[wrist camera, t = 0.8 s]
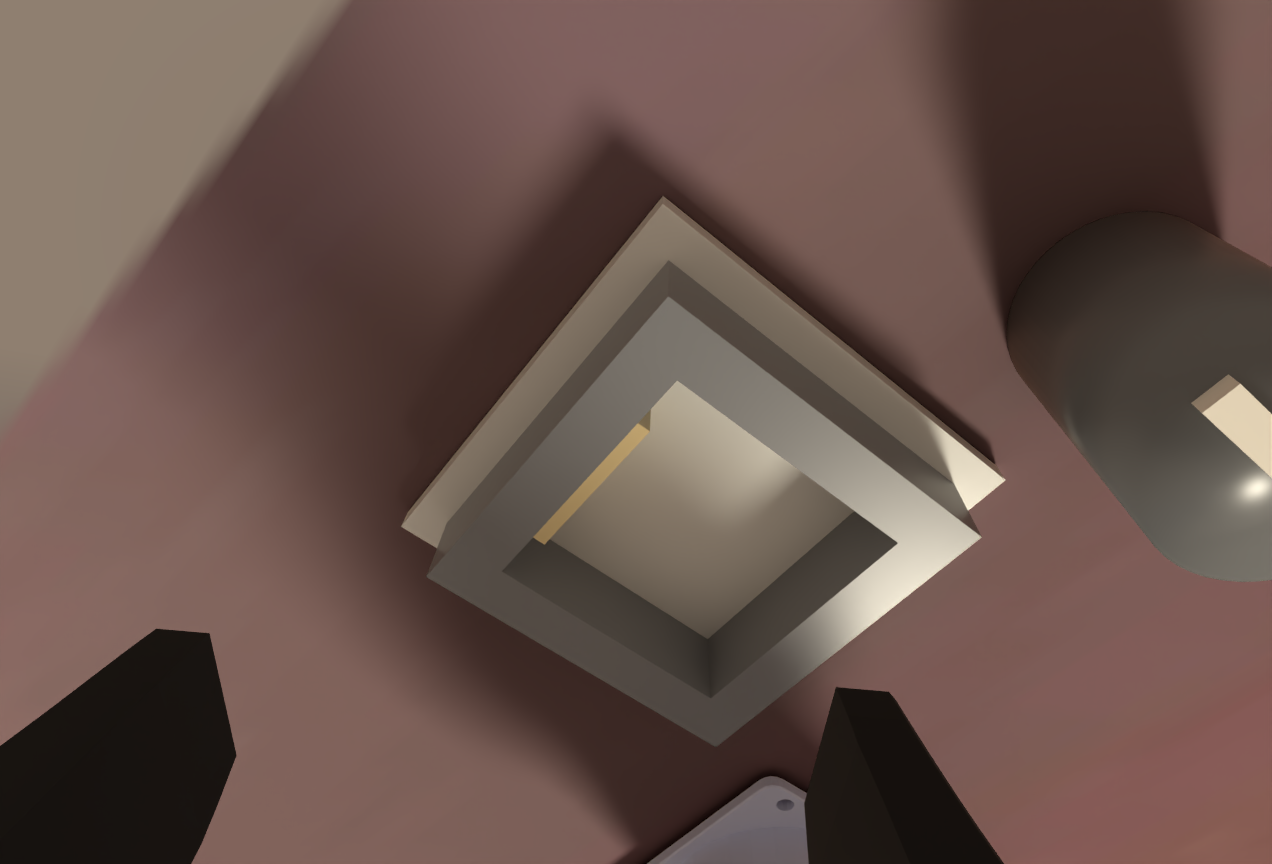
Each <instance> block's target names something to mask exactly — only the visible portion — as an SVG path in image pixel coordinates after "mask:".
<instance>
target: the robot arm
mask: <svg viewBox="0 0 1272 864" xmlns="http://www.w3.org/2000/svg"><path fill="white" fill-rule="evenodd" d="M235 758H236V751H235V747H234V742H233V738H232V733H231V728H230V724H229V719H228V715H227V710H226V706H225V701H224V697H223V692H222V688H221V683H220V679H219V674H218V670H217V665H216V661H215V656H214V652H213V647H212V643H211V638H210V634H209V633H199V632H187V631H176V630H164V629H155V630H154V631H153V632H151V633H150V634H149V635H147V636H146V637H144V638H143V639H142V640H140V641H139V642H138V643H136V644H135V645H134V646H132V647H131V648H129V649H128V650H127V651H125V652H124V653H123V654H122V655H120V656H119V657H118V658H116V659H115V660H114V661H112V662H111V663H110V664H108V665H107V666H106V667H104V668H103V669H102V670H100V671H99V672H98V673H97V674H95V675H94V676H93V677H91V678H90V679H89V680H87V681H86V682H85V683H83V684H82V685H81V686H80V687H78V688H77V689H76V690H74V691H73V692H72V693H70V694H69V695H68V696H66V697H65V698H64V699H62V700H61V701H60V702H59V703H57V704H56V705H55V706H53V707H52V708H51V709H49V710H48V711H47V712H45V713H44V714H43V715H41V716H40V717H39V718H37V719H36V720H35V721H33V722H32V723H31V724H29V725H28V726H27V727H25V728H24V729H23V730H21V731H20V732H18V733H17V734H16V735H14V736H13V737H12V738H10V739H9V740H8V741H6V742H5V743H4V744H2V745H1V746H0V864H191V863H192V861H193V859H194V857H195V855H196V853H197V851H198V849H199V847H200V845H201V844H202V841H203V839H204V836H205V834H206V831H207V829H208V827H209V824H210V822H211V819H212V817H213V815H214V812H215V810H216V807H217V805H218V802H219V800H220V797H221V794H222V792H223V789H224V787H225V784H226V781H227V779H228V776H229V774H230V771H231V768H232V766H233V763H234V760H235ZM647 864H1004V863H1003V862H1002V860H1001V859H1000V857H999V856H998V855H997V853H996V852H995V850H994V849H993V847H992V846H991V845H990V843H989V842H988V840H987V839H986V838H985V836H984V835H983V833H982V832H981V831H980V829H979V828H978V826H977V825H976V823H975V822H974V820H973V819H972V817H971V816H970V814H969V813H968V811H967V810H966V809H965V807H964V806H963V804H962V803H961V801H960V800H959V798H958V797H957V795H956V794H955V792H954V790H953V789H952V787H951V786H950V784H949V783H948V781H947V780H946V778H945V777H944V775H943V774H942V772H941V771H940V769H939V768H938V766H937V765H936V763H935V761H934V760H933V758H932V757H931V755H930V754H929V752H928V751H927V749H926V747H925V746H924V744H923V743H922V741H921V740H920V738H919V736H918V735H917V733H916V732H915V730H914V728H913V727H912V725H911V724H910V722H909V721H908V719H907V717H906V716H905V714H904V713H903V711H902V709H901V708H900V706H899V705H898V703H897V701H896V700H895V699H894V697H893V696H892V695H891V694H890V693H889V692H884V691H873V690H861V689H849V688H838V687H836V689H835V693H834V697H833V700H832V704H831V707H830V711H829V715H828V718H827V722H826V726H825V729H824V733H823V737H822V740H821V744H820V748H819V751H818V755H817V759H816V762H815V766H814V769H813V773H812V777H811V780H810V784H809V788H808V791H807V793H806V792H804V791H802V790H801V789H799V788H797V787H795V786H794V785H792V784H790V783H789V782H787V781H785V780H784V779H781V778H779V777H775V776H769V777H764V778H762V779H760V780H759V781H757V782H756V783H755V784H753V785H752V786H751V787H749V788H748V789H747V790H745V791H744V792H742V793H741V794H740V795H738V796H737V797H736V798H734V799H733V800H732V801H730V802H729V803H728V804H726V805H725V806H724V807H722V808H721V809H720V810H718V811H717V812H716V813H714V814H713V815H712V816H710V817H709V818H708V819H706V820H705V821H703V822H702V823H701V824H699V825H698V826H697V827H695V828H694V829H693V830H691V831H690V832H689V833H687V834H686V835H685V836H683V837H682V838H681V839H679V840H678V841H677V842H675V843H674V844H673V845H671V846H670V847H669V848H667V849H666V850H664V851H663V852H662V853H660V854H659V855H658V856H656V857H655V858H654V859H652V860H651V861H650V862H648V863H647Z"/></svg>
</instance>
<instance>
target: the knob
mask: <svg viewBox="0 0 1272 864" xmlns="http://www.w3.org/2000/svg"><path fill="white" fill-rule="evenodd" d="M1007 345H1008V351H1009V354H1010V358H1011V361H1012V363H1013V365H1014V367H1015V369H1016V371H1017V372H1018V374H1019V375H1020V377H1021V378H1022V379H1023V381H1024V382H1025V383H1026V384H1027V386H1028V387H1029V388H1030V389H1031V391H1032V392H1033V393H1034V395H1035V396H1036V397H1037V398H1038V400H1039V401H1040V402H1041V403H1042V405H1043V406H1044V407H1045V408H1046V410H1047V411H1048V412H1049V413H1050V415H1051V416H1052V417H1053V419H1054V420H1055V421H1056V422H1057V424H1058V425H1059V426H1060V427H1061V429H1062V430H1063V431H1064V432H1065V434H1066V435H1067V436H1068V437H1069V439H1070V440H1071V441H1072V443H1073V444H1074V445H1075V446H1076V448H1077V449H1078V450H1079V451H1080V453H1081V454H1082V455H1083V456H1084V458H1085V459H1086V460H1087V462H1088V463H1089V464H1090V465H1091V467H1092V468H1093V469H1094V470H1095V472H1096V473H1097V474H1098V475H1099V477H1100V478H1101V479H1102V480H1103V482H1104V483H1105V484H1106V486H1107V487H1108V488H1109V489H1110V491H1111V492H1112V493H1113V494H1114V496H1115V497H1116V498H1117V499H1118V501H1119V502H1120V503H1121V504H1122V506H1123V507H1124V508H1125V510H1126V511H1127V512H1128V513H1129V515H1130V516H1131V517H1132V518H1133V520H1134V521H1135V522H1136V523H1137V525H1138V526H1139V527H1140V529H1141V530H1142V531H1143V532H1144V534H1145V535H1146V536H1147V537H1148V539H1149V540H1150V541H1151V542H1152V544H1153V545H1154V546H1155V547H1156V548H1157V549H1158V550H1159V551H1160V552H1161V553H1162V554H1163V555H1164V556H1165V557H1166V558H1167V559H1169V560H1170V561H1172V562H1173V563H1174V564H1176V565H1177V566H1179V567H1181V568H1184V569H1186V570H1188V571H1190V572H1192V573H1195V574H1198V575H1201V576H1204V577H1208V578H1213V579H1218V580H1225V581H1237V582H1251V581H1266V580H1272V267H1270V266H1269V265H1267V264H1265V263H1263V262H1261V261H1259V260H1258V259H1256V258H1254V257H1252V256H1250V255H1249V254H1247V253H1245V252H1243V251H1241V250H1240V249H1238V248H1236V247H1234V246H1232V245H1231V244H1229V243H1227V242H1225V241H1223V240H1221V239H1220V238H1218V237H1216V236H1214V235H1212V234H1211V233H1209V232H1207V231H1205V230H1203V229H1202V228H1200V227H1198V226H1196V225H1194V224H1193V223H1191V222H1189V221H1187V220H1185V219H1182V218H1179V217H1177V216H1174V215H1170V214H1165V213H1161V212H1149V211H1142V212H1128V213H1122V214H1116V215H1113V216H1109V217H1106V218H1102V219H1100V220H1097V221H1095V222H1092V223H1090V224H1087V225H1085V226H1083V227H1081V228H1080V229H1078V230H1076V231H1074V232H1072V233H1071V234H1069V235H1068V236H1066V237H1065V238H1063V239H1062V240H1060V241H1059V242H1058V243H1056V244H1055V245H1054V246H1053V247H1052V248H1050V249H1049V250H1048V251H1047V252H1046V253H1045V254H1044V255H1043V256H1042V257H1041V258H1040V259H1039V260H1038V261H1037V262H1036V263H1035V265H1034V266H1033V267H1032V268H1031V270H1030V271H1029V272H1028V274H1027V275H1026V277H1025V278H1024V280H1023V281H1022V283H1021V285H1020V286H1019V288H1018V290H1017V293H1016V295H1015V297H1014V299H1013V302H1012V305H1011V308H1010V311H1009V316H1008V322H1007Z"/></svg>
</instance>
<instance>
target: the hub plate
mask: <svg viewBox="0 0 1272 864" xmlns="http://www.w3.org/2000/svg"><path fill="white" fill-rule="evenodd" d="M1004 481H1005V479H1004V477H1003V475H1002V474H1001V472H1000V470H999V469H998V467H997V466H996V465H995V464H994V463H992V462H991V461H990V460H989V459H988V458H986V457H985V456H984V455H983V454H981V453H980V452H979V451H978V450H976V449H975V448H974V447H973V446H971V445H970V444H969V443H968V442H967V441H965V440H964V439H963V438H962V437H960V436H959V435H958V434H957V433H955V432H954V431H953V430H952V429H950V428H949V427H948V426H947V425H946V424H944V423H943V422H942V421H941V420H939V419H938V418H937V417H936V416H934V415H933V414H932V413H931V412H929V411H928V410H927V409H926V408H925V407H923V406H922V405H921V404H920V403H918V402H917V401H916V400H915V399H913V398H912V397H911V396H910V395H908V394H907V393H906V392H905V391H904V390H902V389H901V388H900V387H899V386H897V385H896V384H895V383H894V382H892V381H891V380H890V379H889V378H887V377H886V376H885V375H884V374H883V373H881V372H880V371H879V370H878V369H876V368H875V367H874V366H873V365H871V364H870V363H869V362H868V361H866V360H865V359H864V358H863V357H862V356H860V355H859V354H858V353H857V352H855V351H854V350H853V349H852V348H850V347H849V346H848V345H847V344H845V343H844V342H843V341H842V340H841V339H839V338H838V337H837V336H836V335H834V334H833V333H832V332H831V331H829V330H828V329H827V328H826V327H824V326H823V325H822V324H821V323H820V322H818V321H817V320H816V319H815V318H813V317H812V316H811V315H810V314H808V313H807V312H806V311H805V310H804V309H802V308H801V307H800V306H799V305H797V304H796V303H795V302H794V301H792V300H791V299H790V298H789V297H787V296H786V295H785V294H784V293H783V292H781V291H780V290H779V289H778V288H776V287H775V286H774V285H773V284H771V283H770V282H769V281H768V280H766V279H765V278H764V277H763V276H762V275H760V274H759V273H758V272H757V271H755V270H754V269H753V268H752V267H750V266H749V265H748V264H747V263H745V262H744V261H743V260H742V259H741V258H739V257H738V256H737V255H736V254H734V253H733V252H732V251H731V250H729V249H728V248H727V247H726V246H724V245H723V244H722V243H721V242H720V241H718V240H717V239H716V238H715V237H713V236H712V235H711V234H710V233H708V232H707V231H706V230H705V229H703V228H702V227H701V226H700V225H699V224H697V223H696V222H695V221H694V220H692V219H691V218H690V217H689V216H687V215H686V214H685V213H684V212H682V211H681V210H680V209H679V208H678V207H676V206H675V205H674V204H673V203H671V202H670V201H669V200H668V199H666V198H665V197H664V196H662V198H661V199H660V200H659V201H658V203H657V204H656V205H655V206H654V208H653V209H652V210H651V211H650V213H649V214H648V215H647V216H646V218H645V219H644V220H643V221H642V222H641V224H640V225H639V226H638V227H637V229H636V230H635V231H634V232H633V234H632V235H631V236H630V237H629V239H628V240H627V241H626V242H625V244H624V245H623V246H622V247H621V248H620V250H619V251H618V252H617V253H616V255H615V256H614V257H613V258H612V260H611V261H610V262H609V263H608V265H607V266H606V267H605V268H604V270H603V271H602V272H601V273H600V275H599V276H598V277H597V278H596V279H595V281H594V282H593V283H592V284H591V286H590V287H589V288H588V289H587V291H586V292H585V293H584V294H583V296H582V297H581V298H580V299H579V301H578V302H577V303H576V304H575V306H574V307H573V308H572V309H571V310H570V312H569V313H568V314H567V315H566V317H565V318H564V319H563V320H562V322H561V323H560V324H559V325H558V327H557V328H556V329H555V330H554V332H553V333H552V334H551V335H550V336H549V338H548V339H547V340H546V341H545V343H544V344H543V345H542V346H541V348H540V349H539V350H538V351H537V353H536V354H535V355H534V356H533V358H532V359H531V360H530V361H529V363H528V364H527V365H526V366H525V367H524V369H523V370H522V371H521V372H520V374H519V375H518V376H517V377H516V379H515V380H514V381H513V382H512V384H511V385H510V386H509V387H508V389H507V390H506V391H505V392H504V393H503V395H502V396H501V397H500V398H499V400H498V401H497V402H496V403H495V405H494V406H493V407H492V408H491V410H490V411H489V412H488V413H487V415H486V416H485V417H484V418H483V420H482V421H481V422H480V423H479V424H478V426H477V427H476V428H475V429H474V431H473V432H472V433H471V434H470V436H469V437H468V438H467V439H466V441H465V442H464V443H463V444H462V446H461V447H460V448H459V449H458V451H457V452H456V453H455V454H454V455H453V457H452V458H451V459H450V460H449V462H448V463H447V464H446V465H445V467H444V468H443V469H442V470H441V472H440V473H439V474H438V475H437V477H436V478H435V479H434V480H433V481H432V483H431V484H430V485H429V486H428V488H427V489H426V490H425V491H424V493H423V494H422V495H421V496H420V498H419V499H418V500H417V501H416V503H415V504H414V505H413V506H412V508H411V509H410V510H409V511H408V513H407V515H406V517H405V519H404V521H403V524H402V526H401V527H402V528H404V529H406V530H407V531H409V532H411V533H412V534H414V535H416V536H417V537H419V538H421V539H422V540H424V541H426V542H427V543H429V544H431V545H432V546H434V547H436V548H437V550H436V552H435V555H434V558H433V560H432V563H431V565H430V568H429V571H428V573H427V576H426V577H427V578H429V579H431V580H432V581H434V582H436V583H437V584H439V585H441V586H442V587H444V588H446V589H448V590H449V591H451V592H453V593H454V594H456V595H458V596H459V597H461V598H463V599H465V600H466V601H468V602H470V603H471V604H473V605H475V606H476V607H478V608H480V609H482V610H483V611H485V612H487V613H488V614H490V615H492V616H493V617H495V618H497V619H499V620H500V621H502V622H504V623H505V624H507V625H509V626H510V627H512V628H514V629H516V630H517V631H519V632H521V633H522V634H524V635H526V636H527V637H529V638H531V639H533V640H534V641H536V642H538V643H539V644H541V645H543V646H544V647H546V648H548V649H550V650H551V651H553V652H555V653H556V654H558V655H560V656H561V657H563V658H565V659H567V660H568V661H570V662H572V663H573V664H575V665H577V666H578V667H580V668H582V669H584V670H585V671H587V672H589V673H590V674H592V675H594V676H595V677H597V678H599V679H601V680H602V681H604V682H606V683H607V684H609V685H611V686H612V687H614V688H616V689H618V690H619V691H621V692H623V693H624V694H626V695H628V696H629V697H631V698H633V699H635V700H636V701H638V702H640V703H641V704H643V705H645V706H646V707H648V708H650V709H652V710H653V711H655V712H657V713H658V714H660V715H662V716H663V717H665V718H667V719H669V720H670V721H672V722H674V723H675V724H677V725H679V726H680V727H682V728H684V729H686V730H687V731H689V732H691V733H692V734H694V735H696V736H697V737H699V738H701V739H703V740H704V741H706V742H708V743H709V744H711V745H713V746H714V747H717V746H718V745H719V744H721V743H722V742H723V741H725V740H726V739H727V738H728V737H730V736H731V735H732V734H733V733H735V732H736V731H737V730H738V729H740V728H741V727H742V726H743V725H745V724H746V723H747V722H749V721H750V720H751V719H752V718H754V717H755V716H756V715H757V714H759V713H760V712H761V711H762V710H764V709H765V708H766V707H768V706H769V705H770V704H771V703H773V702H774V701H775V700H776V699H778V698H779V697H780V696H781V695H783V694H784V693H785V692H786V691H788V690H789V689H790V688H792V687H793V686H794V685H795V684H797V683H798V682H799V681H800V680H802V679H803V678H804V677H805V676H807V675H808V674H809V673H811V672H812V671H813V670H814V669H816V668H817V667H818V666H819V665H821V664H822V663H823V662H824V661H826V660H827V659H828V658H829V657H831V656H832V655H833V654H835V653H836V652H837V651H838V650H840V649H841V648H842V647H843V646H845V645H846V644H847V643H848V642H850V641H851V640H852V639H853V638H855V637H856V636H857V635H859V634H860V633H861V632H862V631H864V630H865V629H866V628H867V627H869V626H870V625H871V624H872V623H874V622H875V621H876V620H878V619H879V618H880V617H881V616H883V615H884V614H885V613H886V612H888V611H889V610H890V609H891V608H893V607H894V606H895V605H896V604H898V603H899V602H900V601H902V600H903V599H904V598H905V597H907V596H908V595H909V594H910V593H912V592H913V591H914V590H915V589H917V588H918V587H919V586H921V585H922V584H923V583H924V582H926V581H927V580H928V579H929V578H931V577H932V576H933V575H934V574H936V573H937V572H938V571H939V570H941V569H942V568H943V567H945V566H946V565H947V564H948V563H950V562H951V561H952V560H953V559H955V558H956V557H957V556H958V555H960V554H961V553H962V552H964V551H965V550H966V549H967V548H969V547H970V546H971V545H972V544H974V543H975V542H976V541H977V540H979V539H980V538H981V535H980V533H979V531H978V529H977V527H976V525H975V523H974V521H973V519H972V518H971V516H970V514H969V512H968V510H969V509H971V508H972V507H973V506H974V505H975V504H977V503H978V502H979V501H980V500H982V499H983V498H984V497H985V496H987V495H988V494H989V493H990V492H991V491H993V490H994V489H995V488H996V487H998V486H999V485H1000V484H1001V483H1003V482H1004Z"/></svg>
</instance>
